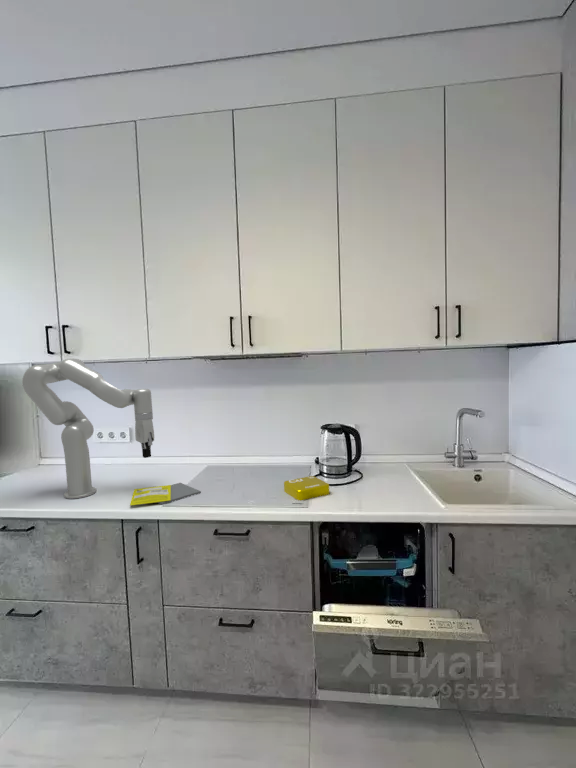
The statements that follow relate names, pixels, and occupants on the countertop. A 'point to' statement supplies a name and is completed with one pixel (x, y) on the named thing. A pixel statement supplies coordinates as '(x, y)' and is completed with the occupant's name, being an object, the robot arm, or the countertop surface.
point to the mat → (180, 492)
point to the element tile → (306, 488)
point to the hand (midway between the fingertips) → (146, 456)
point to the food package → (151, 495)
